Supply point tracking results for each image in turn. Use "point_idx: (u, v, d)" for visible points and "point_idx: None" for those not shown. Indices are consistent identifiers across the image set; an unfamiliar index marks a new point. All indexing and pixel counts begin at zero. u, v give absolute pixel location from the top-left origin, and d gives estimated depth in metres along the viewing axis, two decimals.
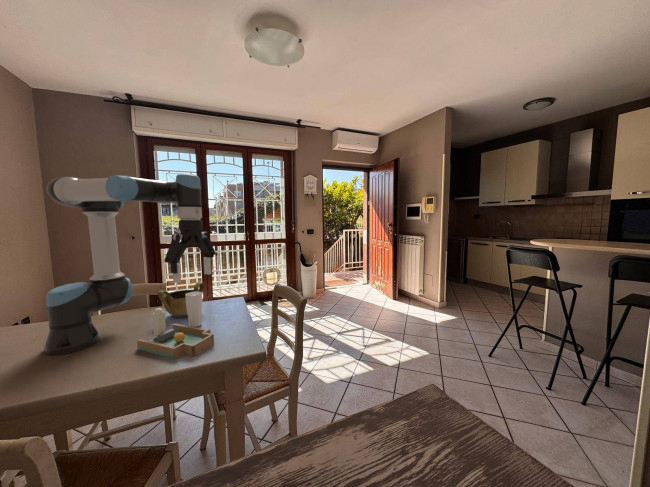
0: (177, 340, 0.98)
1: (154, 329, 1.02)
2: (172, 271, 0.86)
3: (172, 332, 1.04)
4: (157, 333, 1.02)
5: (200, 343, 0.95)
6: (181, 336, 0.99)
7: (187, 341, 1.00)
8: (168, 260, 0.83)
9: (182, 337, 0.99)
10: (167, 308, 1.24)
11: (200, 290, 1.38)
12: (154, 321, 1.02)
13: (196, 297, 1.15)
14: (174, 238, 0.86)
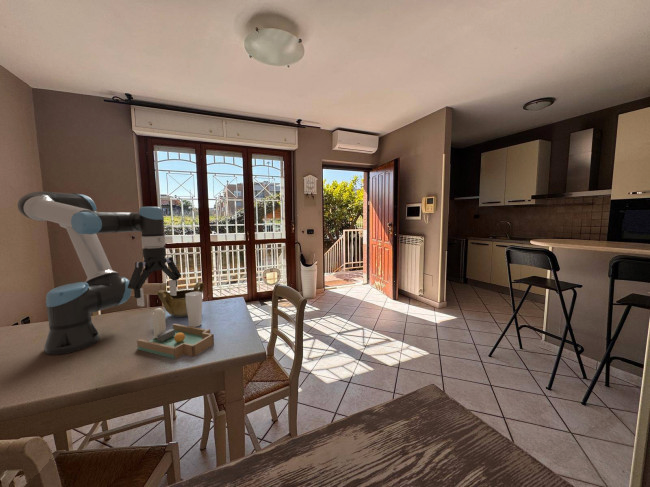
0: (177, 340, 0.98)
1: (154, 329, 1.02)
2: (135, 296, 0.94)
3: (172, 332, 1.04)
4: (157, 333, 1.02)
5: (200, 343, 0.95)
6: (181, 336, 0.99)
7: (187, 341, 1.00)
8: (131, 286, 0.92)
9: (182, 337, 0.99)
10: (167, 308, 1.24)
11: (200, 290, 1.38)
12: (154, 321, 1.02)
13: (196, 297, 1.15)
14: (137, 266, 0.94)
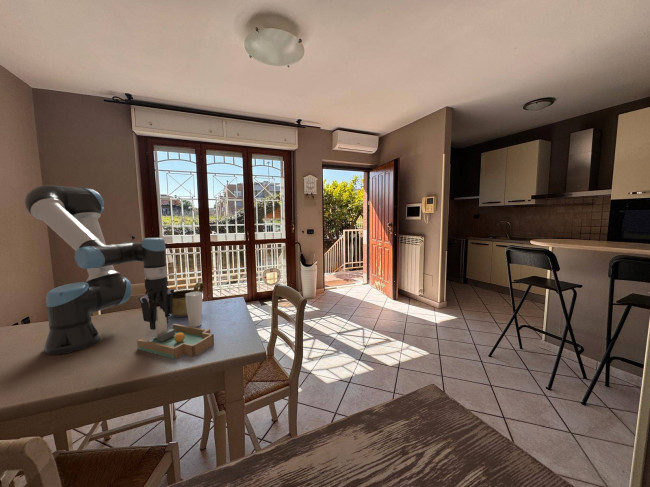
0: (177, 340, 0.98)
1: None
2: (151, 328, 1.00)
3: (172, 332, 1.04)
4: None
5: (200, 343, 0.95)
6: (181, 336, 0.99)
7: (187, 341, 1.00)
8: (147, 320, 0.98)
9: (182, 337, 0.99)
10: None
11: (200, 290, 1.38)
12: None
13: (196, 297, 1.15)
14: (142, 302, 0.96)
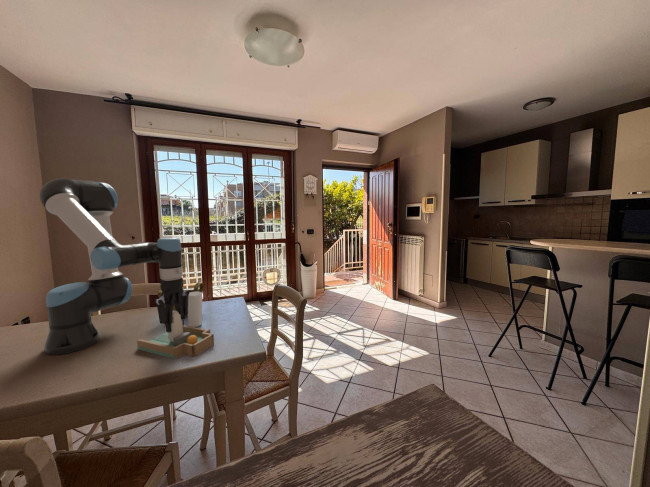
0: (187, 340, 0.97)
1: None
2: (167, 330, 0.97)
3: (188, 336, 1.01)
4: None
5: (200, 343, 0.95)
6: None
7: None
8: (163, 323, 0.95)
9: None
10: None
11: (200, 290, 1.38)
12: None
13: (196, 297, 1.15)
14: (158, 304, 0.93)
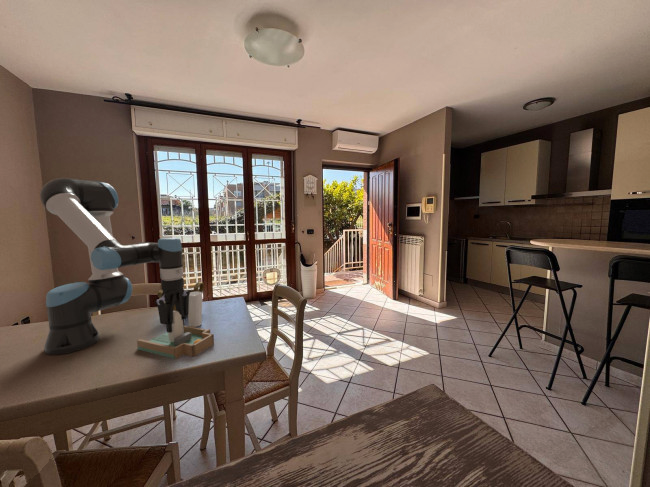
0: None
1: None
2: (167, 330, 0.97)
3: (189, 336, 1.01)
4: None
5: (200, 343, 0.95)
6: (197, 340, 0.96)
7: (187, 341, 1.00)
8: (164, 323, 0.95)
9: None
10: None
11: (200, 290, 1.38)
12: None
13: (196, 297, 1.15)
14: (159, 304, 0.93)
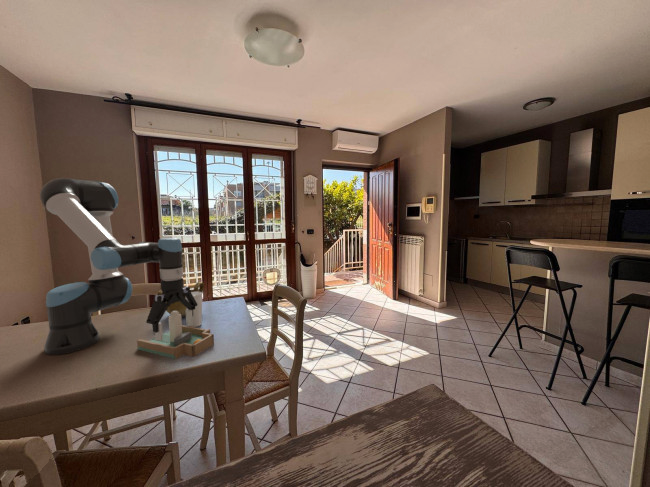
0: None
1: (170, 332, 0.99)
2: (154, 330, 0.92)
3: (189, 336, 1.01)
4: (173, 336, 0.99)
5: (200, 343, 0.95)
6: (197, 340, 0.96)
7: (187, 341, 1.00)
8: (150, 321, 0.90)
9: None
10: (167, 308, 1.24)
11: (200, 290, 1.38)
12: (170, 324, 0.99)
13: (196, 297, 1.15)
14: (156, 300, 0.92)
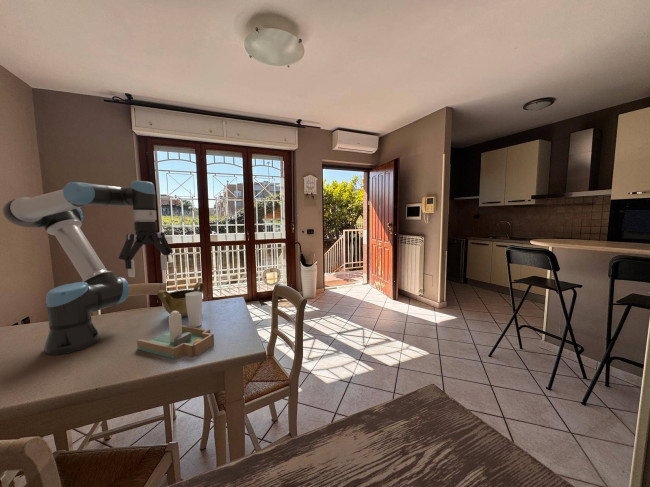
0: None
1: (170, 332, 0.99)
2: (126, 267, 0.97)
3: (189, 336, 1.01)
4: (173, 336, 0.99)
5: (200, 343, 0.95)
6: (197, 340, 0.96)
7: (187, 341, 1.00)
8: (122, 257, 0.95)
9: None
10: (167, 308, 1.24)
11: (200, 290, 1.38)
12: (170, 324, 0.99)
13: (196, 297, 1.15)
14: (128, 237, 0.97)
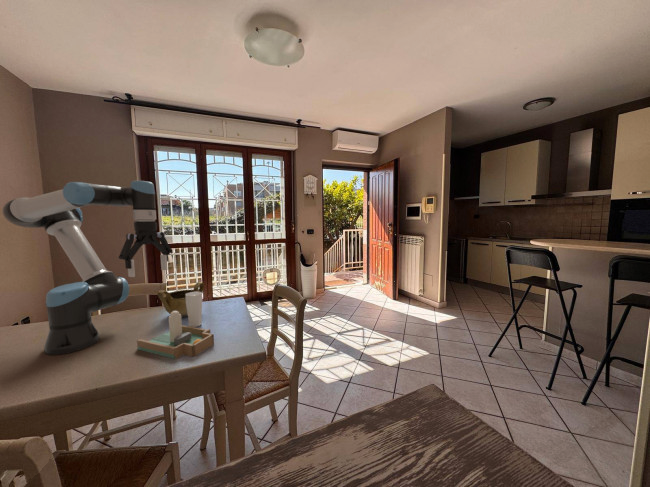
0: None
1: (170, 332, 0.99)
2: (126, 266, 0.97)
3: (189, 336, 1.01)
4: (173, 336, 0.99)
5: (200, 343, 0.95)
6: (196, 340, 0.96)
7: (187, 341, 1.00)
8: (122, 257, 0.95)
9: (198, 340, 0.97)
10: (167, 308, 1.24)
11: (200, 290, 1.38)
12: (170, 324, 0.99)
13: (196, 297, 1.15)
14: (128, 237, 0.97)
